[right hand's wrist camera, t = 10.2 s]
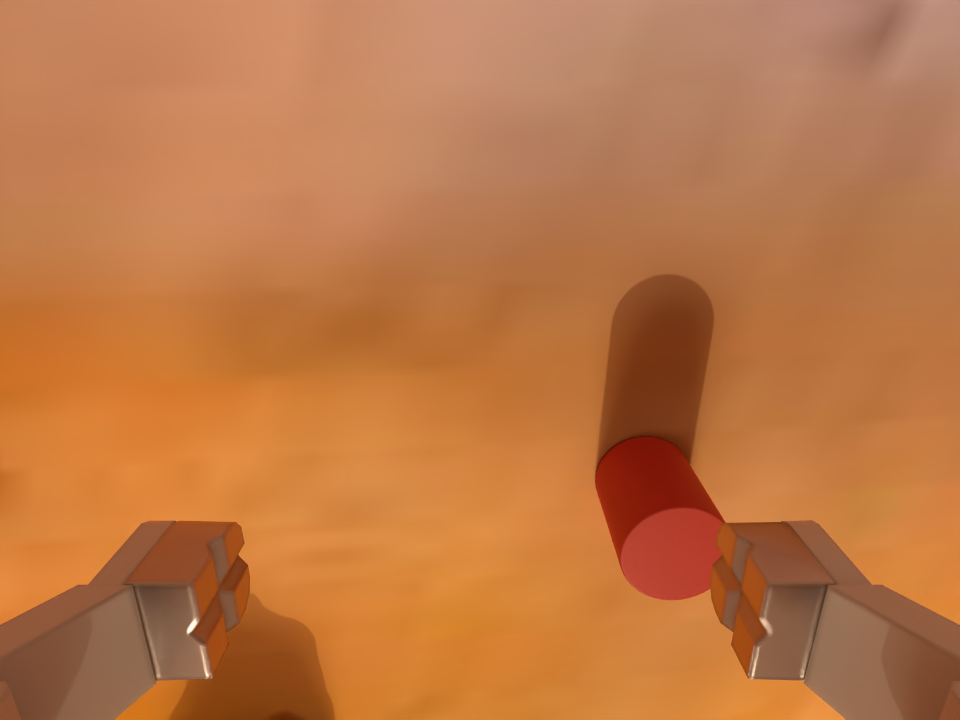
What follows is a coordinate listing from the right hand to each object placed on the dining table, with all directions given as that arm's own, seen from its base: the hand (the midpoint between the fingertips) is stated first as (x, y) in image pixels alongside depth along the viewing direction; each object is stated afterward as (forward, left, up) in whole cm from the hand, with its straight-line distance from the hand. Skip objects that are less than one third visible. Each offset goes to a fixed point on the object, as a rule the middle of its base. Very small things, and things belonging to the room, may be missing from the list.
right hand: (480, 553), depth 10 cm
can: (-1, +8, -12) cm, 14 cm away
